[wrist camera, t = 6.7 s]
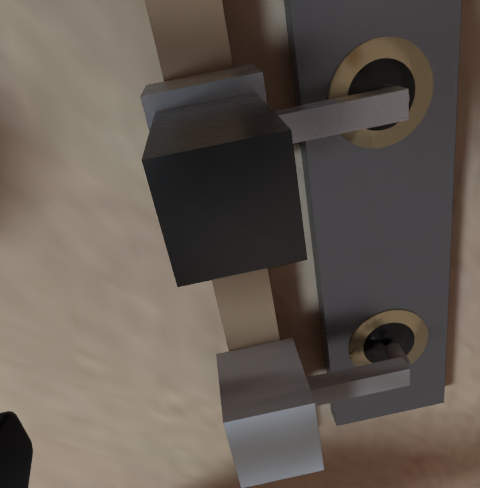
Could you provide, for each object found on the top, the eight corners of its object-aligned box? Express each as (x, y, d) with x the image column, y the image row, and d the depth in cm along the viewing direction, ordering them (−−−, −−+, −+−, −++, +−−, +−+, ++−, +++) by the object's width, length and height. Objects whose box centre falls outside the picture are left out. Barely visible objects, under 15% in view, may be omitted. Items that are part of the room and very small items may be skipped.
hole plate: (434, 388, 26) (444, 403, 25) (331, 411, 26) (337, 427, 25) (449, -75, 16) (467, -81, 15) (279, -42, 16) (285, -45, 15)
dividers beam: (390, 411, 26) (438, 502, 21) (242, 443, 26) (255, 542, 21) (373, -133, 15) (467, -206, 10) (108, -83, 15) (72, -130, 10)
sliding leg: (397, 146, 18) (534, 230, 11) (174, 192, 17) (170, 307, 11) (395, 34, 16) (558, 48, 9) (146, 83, 16) (118, 138, 9)
